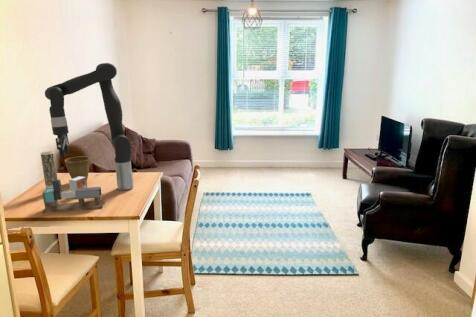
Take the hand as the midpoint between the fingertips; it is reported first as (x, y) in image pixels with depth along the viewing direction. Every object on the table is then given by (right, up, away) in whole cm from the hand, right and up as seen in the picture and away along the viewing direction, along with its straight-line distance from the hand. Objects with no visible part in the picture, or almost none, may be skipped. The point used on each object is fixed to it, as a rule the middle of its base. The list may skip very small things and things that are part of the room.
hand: (64, 154), depth 191 cm
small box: (+1, -24, +17) cm, 29 cm away
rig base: (+7, -28, -2) cm, 29 cm away
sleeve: (+14, -23, -2) cm, 27 cm away
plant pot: (-10, -18, +41) cm, 46 cm away
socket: (-5, -24, -5) cm, 25 cm away
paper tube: (-17, -23, +21) cm, 36 cm away
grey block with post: (+4, -23, -4) cm, 24 cm away
